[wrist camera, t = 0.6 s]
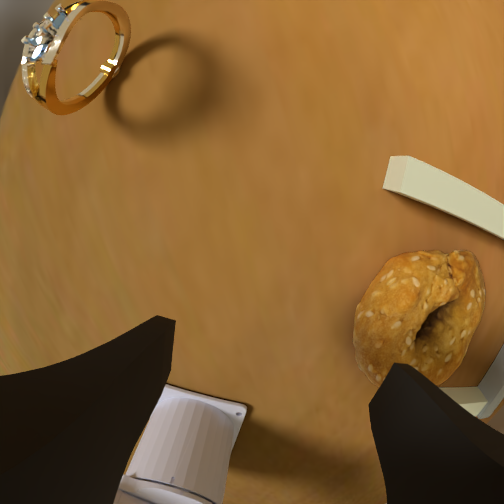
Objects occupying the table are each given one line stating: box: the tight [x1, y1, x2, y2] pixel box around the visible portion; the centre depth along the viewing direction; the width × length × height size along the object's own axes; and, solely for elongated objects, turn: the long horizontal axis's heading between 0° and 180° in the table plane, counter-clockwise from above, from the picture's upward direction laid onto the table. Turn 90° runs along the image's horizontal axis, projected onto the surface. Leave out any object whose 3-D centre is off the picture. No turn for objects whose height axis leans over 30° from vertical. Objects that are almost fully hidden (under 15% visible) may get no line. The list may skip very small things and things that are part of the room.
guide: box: [383, 156, 504, 419], centre depth 16 cm, size 18×21×3 cm
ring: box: [21, 0, 131, 115], centre depth 10 cm, size 7×3×8 cm, turn 145°
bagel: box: [353, 250, 485, 388], centre depth 15 cm, size 10×11×5 cm
